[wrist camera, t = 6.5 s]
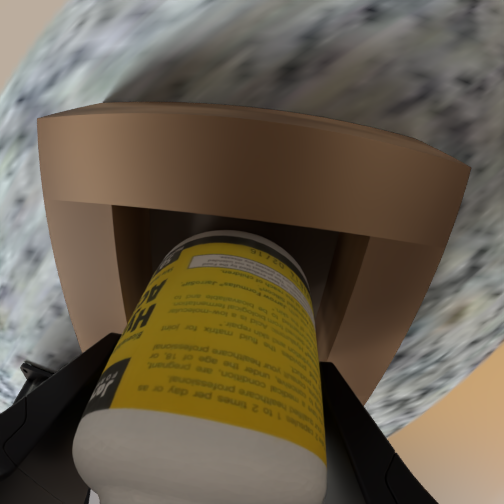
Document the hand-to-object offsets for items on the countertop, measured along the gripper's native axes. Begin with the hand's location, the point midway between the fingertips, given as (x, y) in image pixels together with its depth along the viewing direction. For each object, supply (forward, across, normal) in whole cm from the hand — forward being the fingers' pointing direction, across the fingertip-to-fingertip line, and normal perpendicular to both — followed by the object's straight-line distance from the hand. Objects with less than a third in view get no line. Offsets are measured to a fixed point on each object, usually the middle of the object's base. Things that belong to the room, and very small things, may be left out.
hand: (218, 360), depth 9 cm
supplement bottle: (+3, 0, 0) cm, 3 cm away
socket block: (+6, 0, 0) cm, 6 cm away
